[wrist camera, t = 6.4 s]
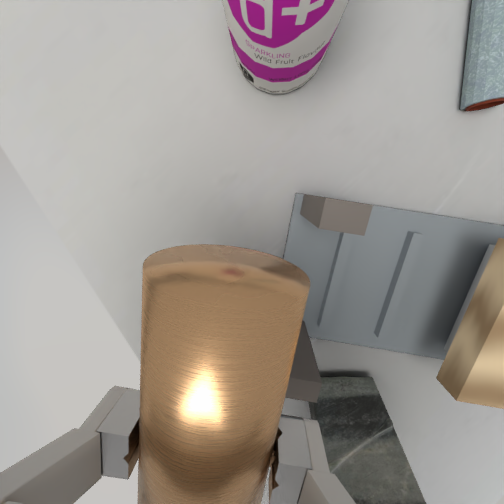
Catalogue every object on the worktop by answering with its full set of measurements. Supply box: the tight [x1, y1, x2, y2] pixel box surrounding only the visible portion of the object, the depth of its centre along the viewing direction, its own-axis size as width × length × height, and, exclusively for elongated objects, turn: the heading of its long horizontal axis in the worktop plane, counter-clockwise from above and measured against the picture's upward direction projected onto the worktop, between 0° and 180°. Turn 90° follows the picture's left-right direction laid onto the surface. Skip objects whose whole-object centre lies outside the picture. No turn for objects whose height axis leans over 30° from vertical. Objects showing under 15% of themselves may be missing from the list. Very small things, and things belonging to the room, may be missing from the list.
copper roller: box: [138, 244, 310, 504], centre depth 8 cm, size 12×4×4 cm, turn 172°
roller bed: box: [283, 193, 504, 403], centre depth 21 cm, size 16×34×10 cm, turn 81°
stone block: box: [309, 377, 426, 504], centre depth 24 cm, size 9×14×5 cm
